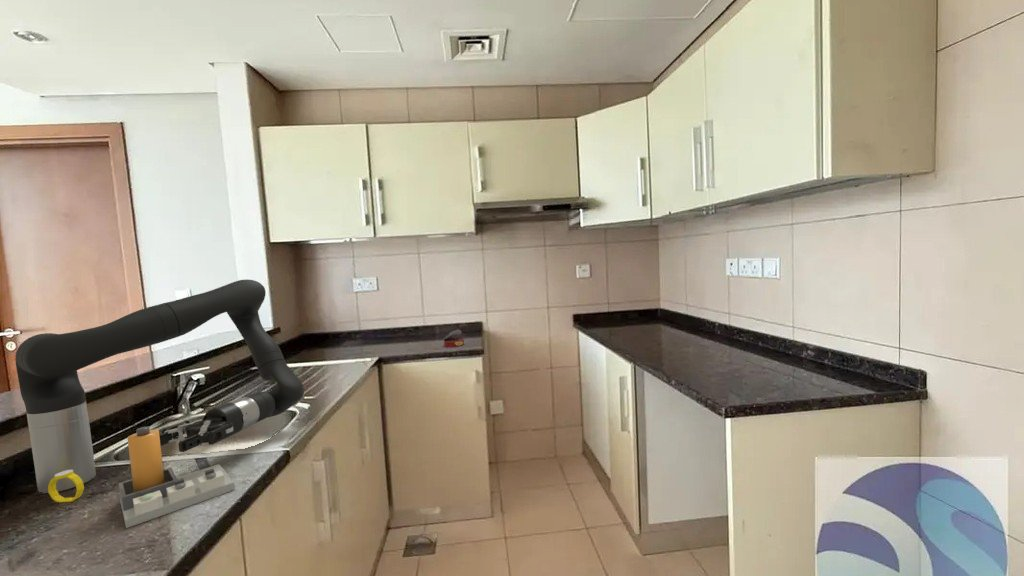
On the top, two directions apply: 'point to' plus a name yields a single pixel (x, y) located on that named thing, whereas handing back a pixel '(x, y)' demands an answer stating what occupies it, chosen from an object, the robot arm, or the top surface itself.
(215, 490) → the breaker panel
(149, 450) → the orange thermos flask
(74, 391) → the robot arm
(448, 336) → the canned food
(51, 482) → the watch
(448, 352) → the top surface
